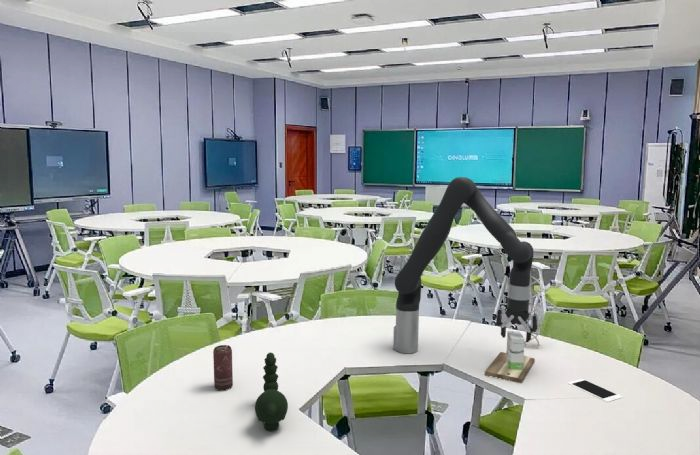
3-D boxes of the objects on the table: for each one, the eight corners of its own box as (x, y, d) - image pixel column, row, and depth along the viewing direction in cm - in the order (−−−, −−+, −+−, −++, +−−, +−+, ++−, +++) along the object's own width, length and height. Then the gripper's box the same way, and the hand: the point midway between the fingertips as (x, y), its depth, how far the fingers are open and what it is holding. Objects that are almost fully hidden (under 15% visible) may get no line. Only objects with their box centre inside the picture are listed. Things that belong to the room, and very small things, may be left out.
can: (236, 384, 182) (235, 345, 180) (226, 392, 176) (225, 351, 174) (221, 381, 184) (220, 343, 182) (210, 389, 178) (209, 349, 176)
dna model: (543, 347, 219) (547, 276, 215) (533, 350, 216) (537, 278, 212) (529, 342, 225) (533, 273, 221) (519, 345, 221) (523, 275, 217)
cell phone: (607, 403, 172) (607, 401, 172) (567, 384, 186) (567, 382, 186) (623, 398, 175) (623, 396, 175) (582, 379, 189) (582, 378, 189)
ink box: (523, 369, 192) (525, 338, 191) (509, 369, 193) (511, 338, 191) (518, 360, 201) (520, 330, 199) (505, 360, 201) (506, 330, 200)
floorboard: (484, 375, 192) (484, 370, 191) (500, 355, 210) (500, 350, 210) (521, 383, 185) (521, 378, 185) (534, 362, 204) (534, 357, 204)
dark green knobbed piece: (256, 407, 170) (254, 442, 145) (255, 348, 169) (253, 374, 144) (285, 405, 171) (289, 439, 147) (285, 347, 170) (288, 372, 146)
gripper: (496, 295, 193) (493, 338, 196) (536, 302, 186) (533, 346, 189) (501, 291, 200) (498, 332, 202) (540, 297, 193) (537, 340, 195)
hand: (515, 339), depth 195 cm, fingers open, 8 cm apart
